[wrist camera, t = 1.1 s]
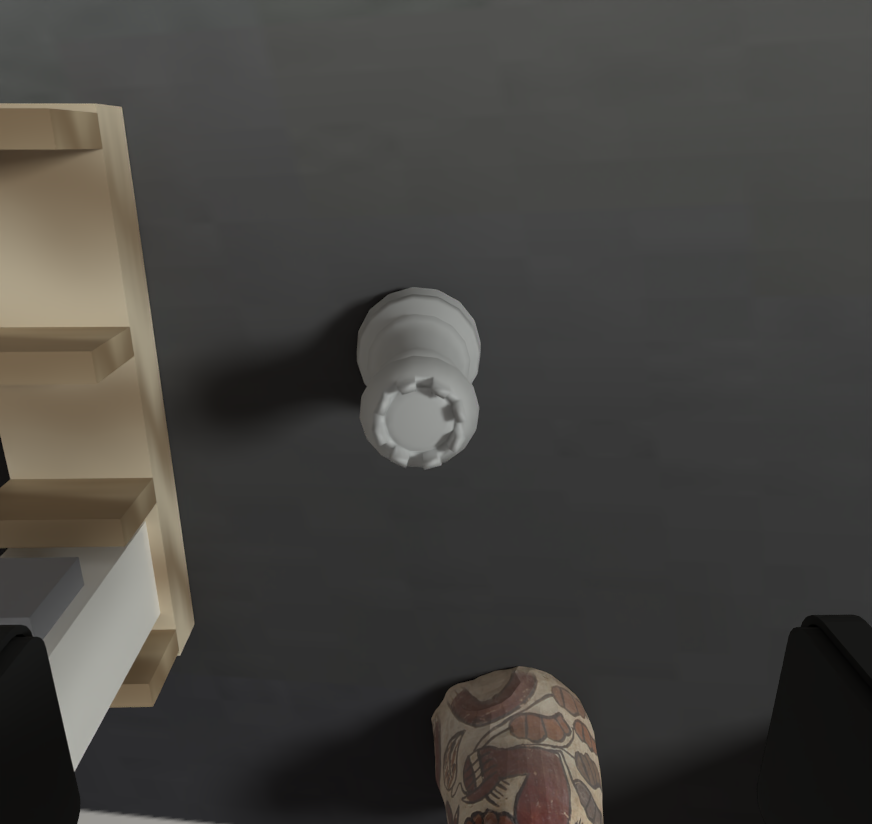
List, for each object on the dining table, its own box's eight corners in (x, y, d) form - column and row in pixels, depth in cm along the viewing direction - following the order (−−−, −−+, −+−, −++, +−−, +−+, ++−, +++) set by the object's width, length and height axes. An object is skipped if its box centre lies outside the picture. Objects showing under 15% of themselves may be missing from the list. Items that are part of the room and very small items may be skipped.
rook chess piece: (365, 407, 27) (345, 509, 20) (349, 290, 25) (322, 351, 18) (483, 397, 27) (509, 495, 19) (475, 278, 25) (500, 335, 18)
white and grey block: (160, 613, 28) (65, 788, 20) (54, 614, 27) (-81, 791, 20) (141, 496, 26) (29, 641, 18) (28, 498, 26) (-130, 643, 18)
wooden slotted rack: (194, 623, 30) (154, 712, 25) (74, 625, 30) (11, 715, 25) (121, 106, 23) (47, 97, 18) (-37, 106, 23) (-151, 97, 18)
